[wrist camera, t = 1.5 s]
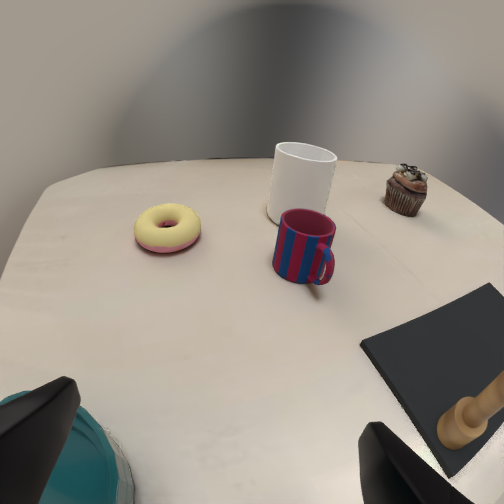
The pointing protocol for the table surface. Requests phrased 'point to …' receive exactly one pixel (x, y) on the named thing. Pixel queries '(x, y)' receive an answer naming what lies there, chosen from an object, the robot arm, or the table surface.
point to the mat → (444, 365)
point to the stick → (470, 415)
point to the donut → (167, 238)
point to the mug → (300, 178)
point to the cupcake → (406, 190)
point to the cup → (304, 246)
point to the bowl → (87, 466)
